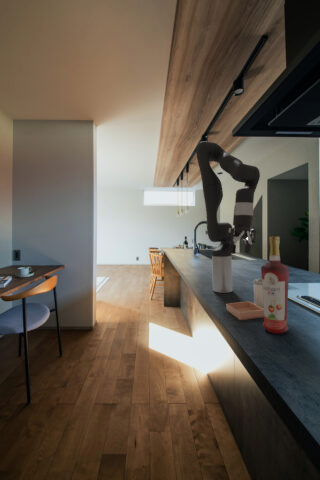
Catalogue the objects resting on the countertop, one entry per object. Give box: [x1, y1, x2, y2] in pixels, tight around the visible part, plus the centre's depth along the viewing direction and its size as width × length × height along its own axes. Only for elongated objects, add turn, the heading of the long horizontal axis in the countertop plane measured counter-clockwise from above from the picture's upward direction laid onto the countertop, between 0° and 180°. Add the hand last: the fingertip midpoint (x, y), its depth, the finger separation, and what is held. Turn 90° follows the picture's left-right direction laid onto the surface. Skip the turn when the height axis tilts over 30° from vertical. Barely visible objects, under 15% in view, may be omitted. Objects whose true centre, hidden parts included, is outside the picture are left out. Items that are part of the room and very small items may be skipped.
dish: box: [225, 300, 264, 321], centre depth 81 cm, size 10×10×2 cm
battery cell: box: [253, 277, 264, 309], centre depth 86 cm, size 4×4×11 cm
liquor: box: [260, 236, 290, 335], centre depth 66 cm, size 7×7×28 cm
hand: (240, 253), depth 94 cm, fingers open, 8 cm apart
